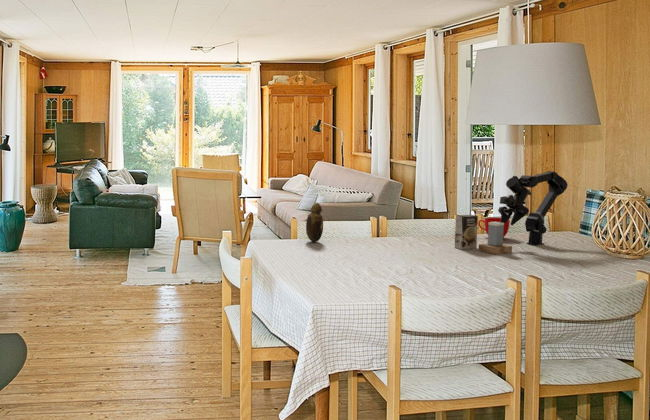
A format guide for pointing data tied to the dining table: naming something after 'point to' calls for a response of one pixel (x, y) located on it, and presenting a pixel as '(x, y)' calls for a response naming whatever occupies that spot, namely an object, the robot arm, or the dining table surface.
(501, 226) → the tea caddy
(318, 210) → the sculpture
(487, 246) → the tan wooden flat block
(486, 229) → the ceramic cup
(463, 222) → the coffee box
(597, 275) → the dining table surface
